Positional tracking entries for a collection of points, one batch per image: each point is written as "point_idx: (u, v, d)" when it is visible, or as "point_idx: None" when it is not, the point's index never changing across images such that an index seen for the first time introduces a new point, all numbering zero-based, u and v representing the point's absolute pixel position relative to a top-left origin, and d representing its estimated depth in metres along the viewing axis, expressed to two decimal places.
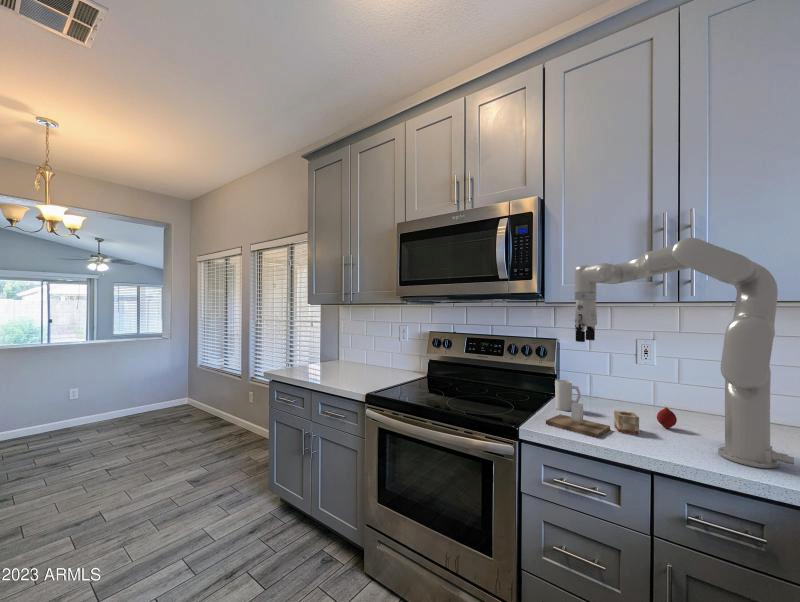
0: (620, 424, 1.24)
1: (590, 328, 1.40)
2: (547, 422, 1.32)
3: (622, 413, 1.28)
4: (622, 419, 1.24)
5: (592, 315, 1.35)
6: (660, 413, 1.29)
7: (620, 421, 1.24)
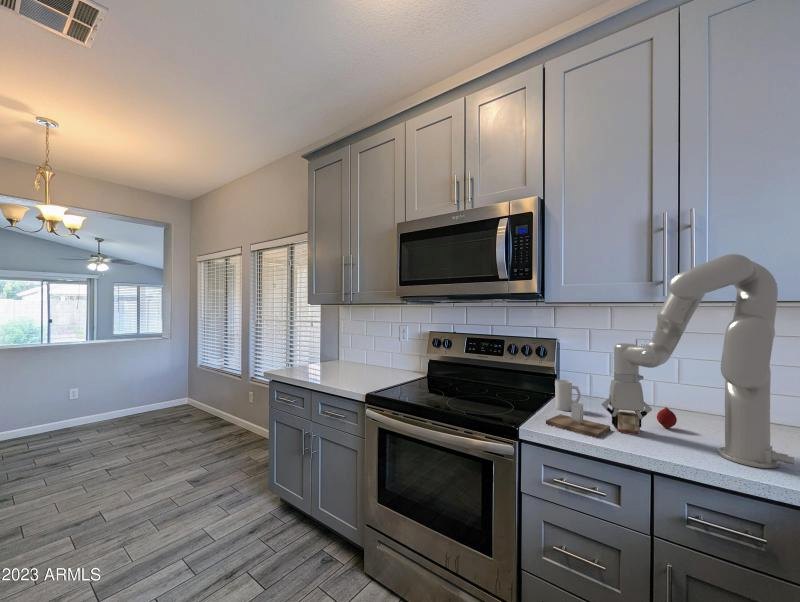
0: (620, 424, 1.24)
1: None
2: (547, 422, 1.32)
3: (622, 413, 1.29)
4: (622, 419, 1.24)
5: None
6: (660, 413, 1.29)
7: (620, 421, 1.24)
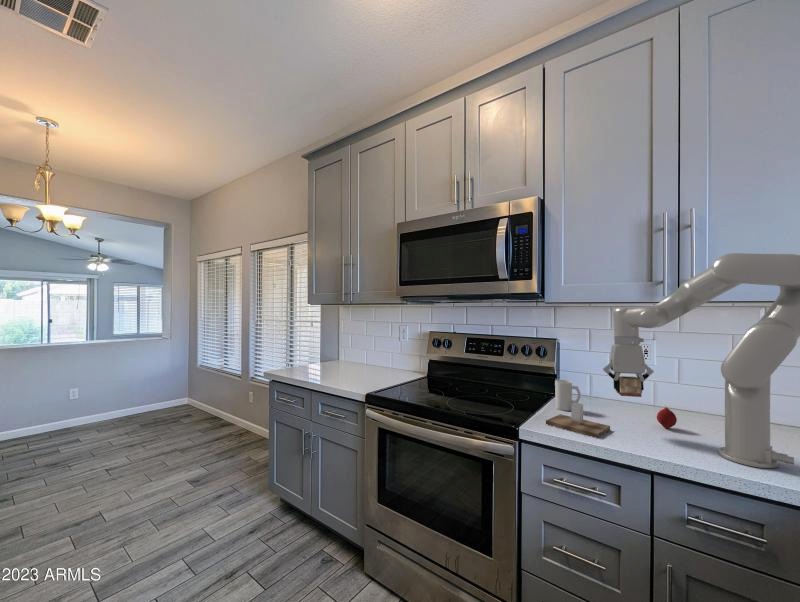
0: (622, 387, 1.24)
1: None
2: (547, 422, 1.32)
3: (624, 378, 1.28)
4: (624, 382, 1.24)
5: None
6: (660, 413, 1.29)
7: (622, 384, 1.24)
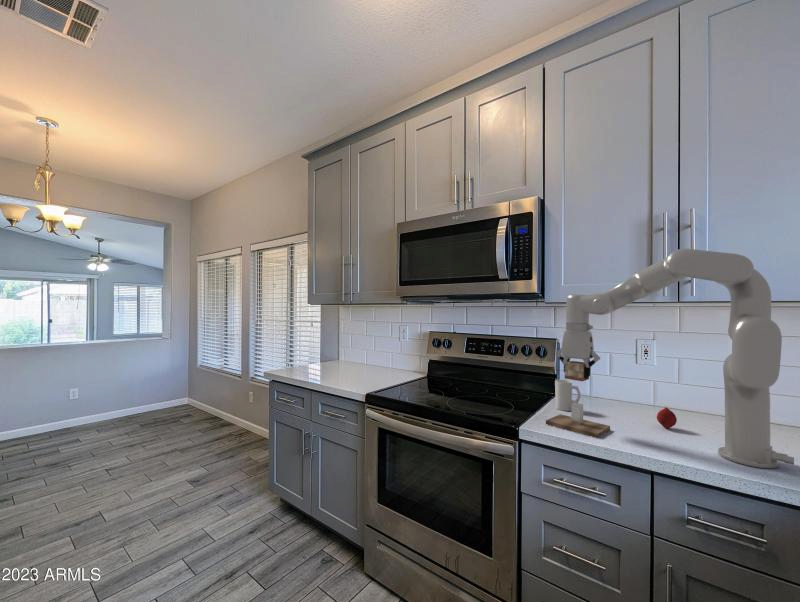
0: (566, 370, 1.30)
1: (567, 361, 1.33)
2: (547, 422, 1.32)
3: (577, 363, 1.32)
4: (567, 366, 1.29)
5: None
6: (660, 413, 1.29)
7: (566, 368, 1.30)
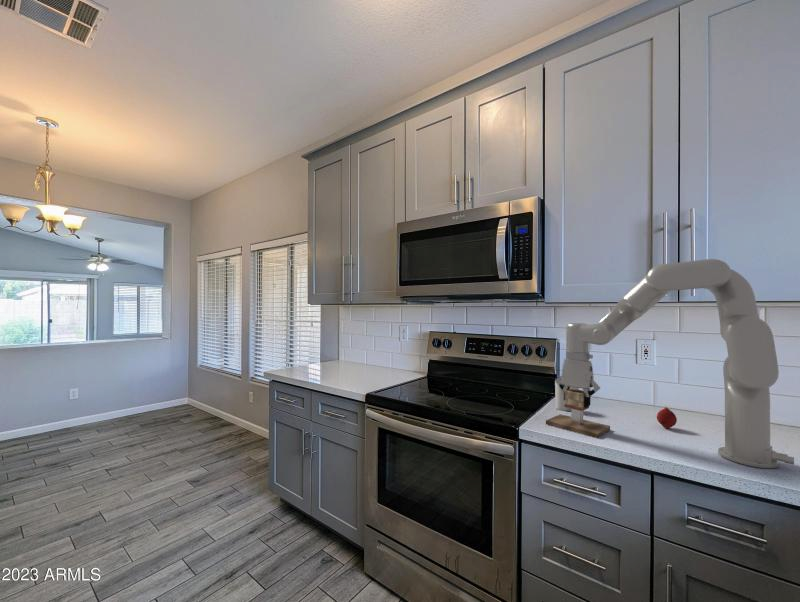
0: (566, 399, 1.30)
1: (567, 389, 1.32)
2: (547, 422, 1.32)
3: (577, 391, 1.32)
4: (567, 395, 1.29)
5: None
6: (660, 413, 1.29)
7: (566, 396, 1.30)
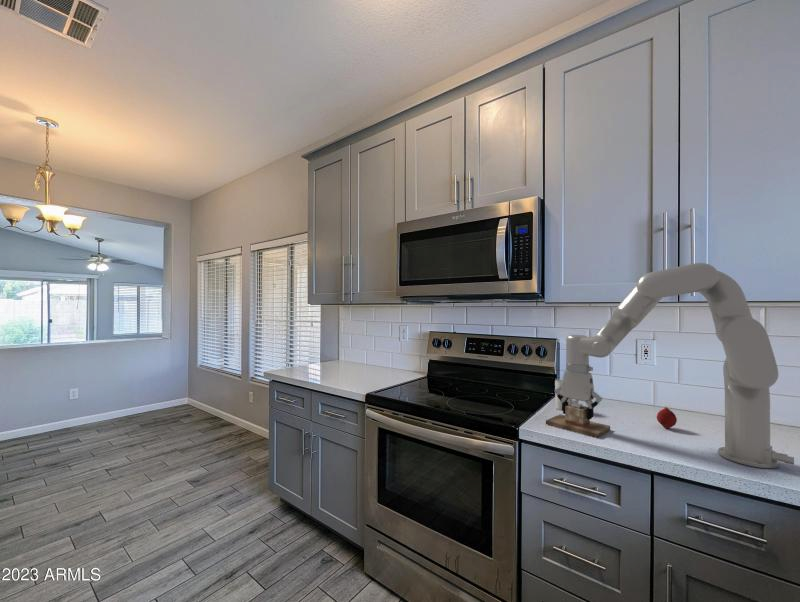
0: (566, 415, 1.29)
1: (565, 400, 1.33)
2: (547, 422, 1.32)
3: None
4: (568, 410, 1.29)
5: None
6: (660, 413, 1.29)
7: (566, 412, 1.29)
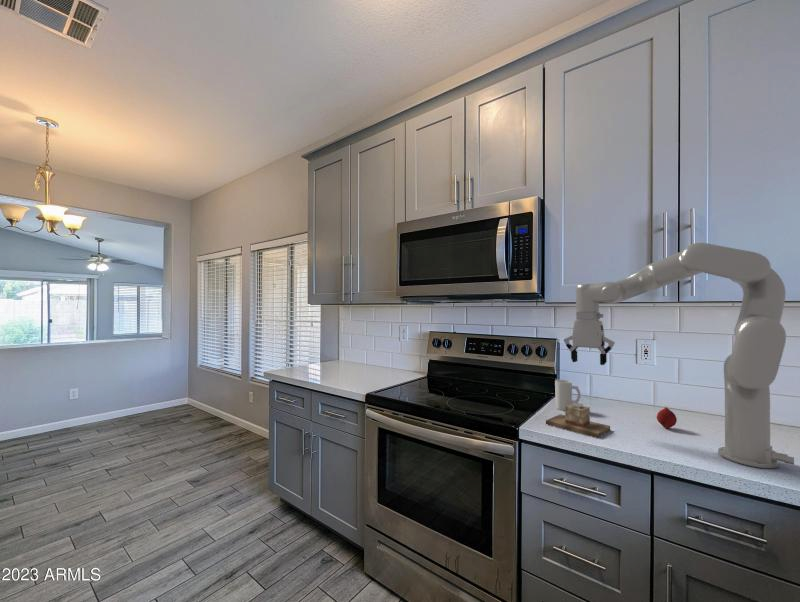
0: (566, 415, 1.29)
1: (574, 349, 1.34)
2: (547, 422, 1.32)
3: None
4: (568, 410, 1.29)
5: None
6: (660, 413, 1.29)
7: (566, 412, 1.29)
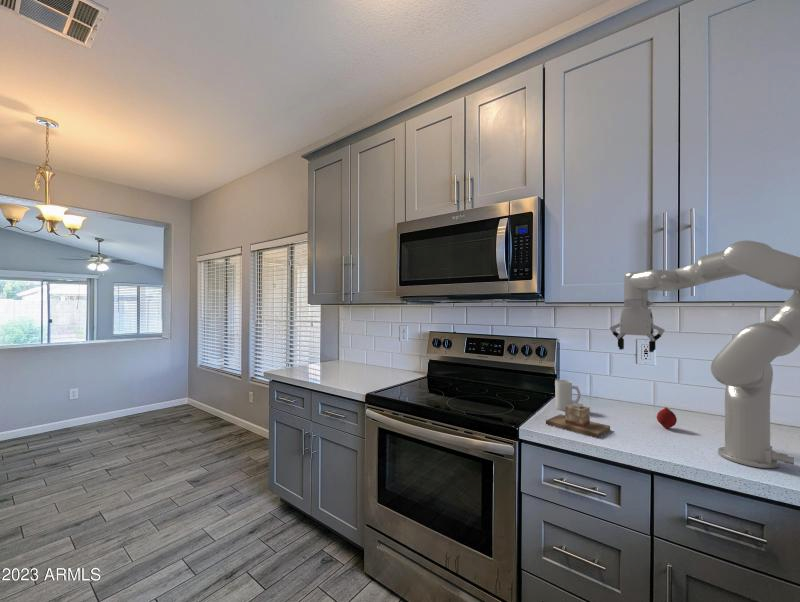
0: (566, 415, 1.29)
1: None
2: (547, 422, 1.32)
3: None
4: (568, 410, 1.29)
5: None
6: (660, 413, 1.29)
7: (566, 412, 1.29)
